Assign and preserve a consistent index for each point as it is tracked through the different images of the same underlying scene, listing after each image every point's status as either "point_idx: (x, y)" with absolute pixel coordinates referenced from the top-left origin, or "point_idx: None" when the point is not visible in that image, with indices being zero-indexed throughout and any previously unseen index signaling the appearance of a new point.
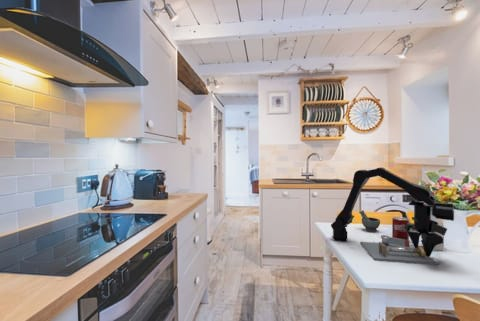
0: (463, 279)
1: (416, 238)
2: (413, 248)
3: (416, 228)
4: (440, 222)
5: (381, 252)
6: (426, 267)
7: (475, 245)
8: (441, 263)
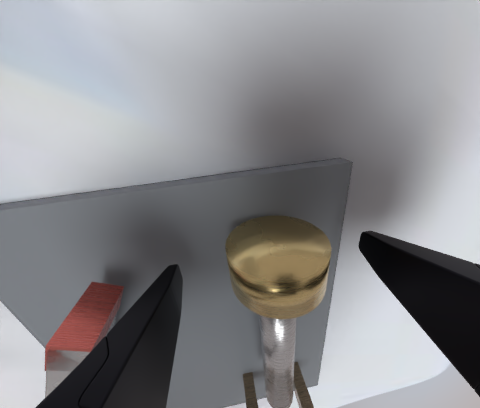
0: None
1: (136, 393)
2: (285, 325)
3: None
4: None
5: (252, 375)
6: None
7: None
8: (311, 117)
